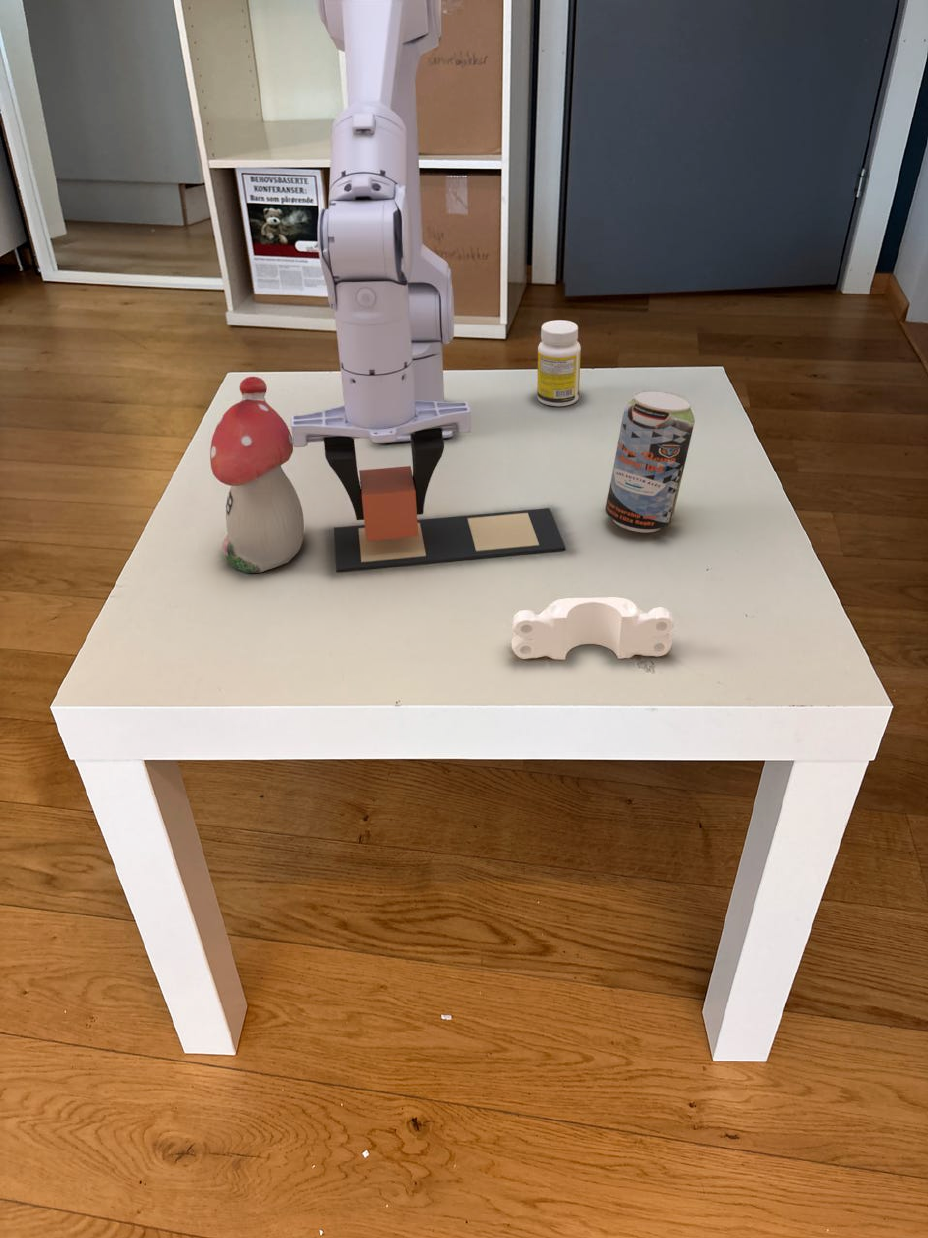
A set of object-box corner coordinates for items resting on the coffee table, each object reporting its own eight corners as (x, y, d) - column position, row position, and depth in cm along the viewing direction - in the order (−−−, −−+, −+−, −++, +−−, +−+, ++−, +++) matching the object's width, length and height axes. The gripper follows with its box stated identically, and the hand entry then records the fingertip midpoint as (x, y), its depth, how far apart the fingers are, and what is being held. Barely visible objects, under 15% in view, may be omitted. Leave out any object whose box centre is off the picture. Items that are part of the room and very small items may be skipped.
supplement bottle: (551, 386, 114) (553, 315, 109) (586, 395, 112) (590, 323, 107) (529, 401, 111) (529, 328, 106) (564, 410, 109) (567, 337, 104)
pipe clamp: (666, 637, 75) (671, 595, 73) (671, 657, 73) (677, 615, 71) (510, 640, 76) (510, 598, 73) (511, 660, 74) (511, 618, 71)
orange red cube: (363, 515, 88) (359, 470, 85) (413, 510, 88) (410, 465, 85) (366, 541, 84) (361, 495, 81) (418, 536, 84) (415, 490, 82)
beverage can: (591, 526, 89) (598, 402, 82) (638, 495, 93) (648, 375, 86) (649, 550, 85) (662, 423, 78) (695, 517, 90) (711, 394, 82)
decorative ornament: (267, 519, 91) (241, 365, 83) (327, 532, 89) (308, 376, 80) (207, 570, 85) (172, 409, 76) (271, 586, 82) (243, 422, 74)
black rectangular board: (334, 530, 90) (334, 526, 89) (549, 510, 91) (549, 506, 91) (336, 572, 84) (336, 568, 84) (565, 550, 86) (565, 546, 85)
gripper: (282, 388, 73) (305, 543, 81) (474, 373, 74) (477, 527, 83) (284, 354, 79) (304, 501, 87) (462, 340, 80) (466, 487, 88)
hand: (388, 511), depth 85 cm, fingers closed on orange red cube, 4 cm apart
